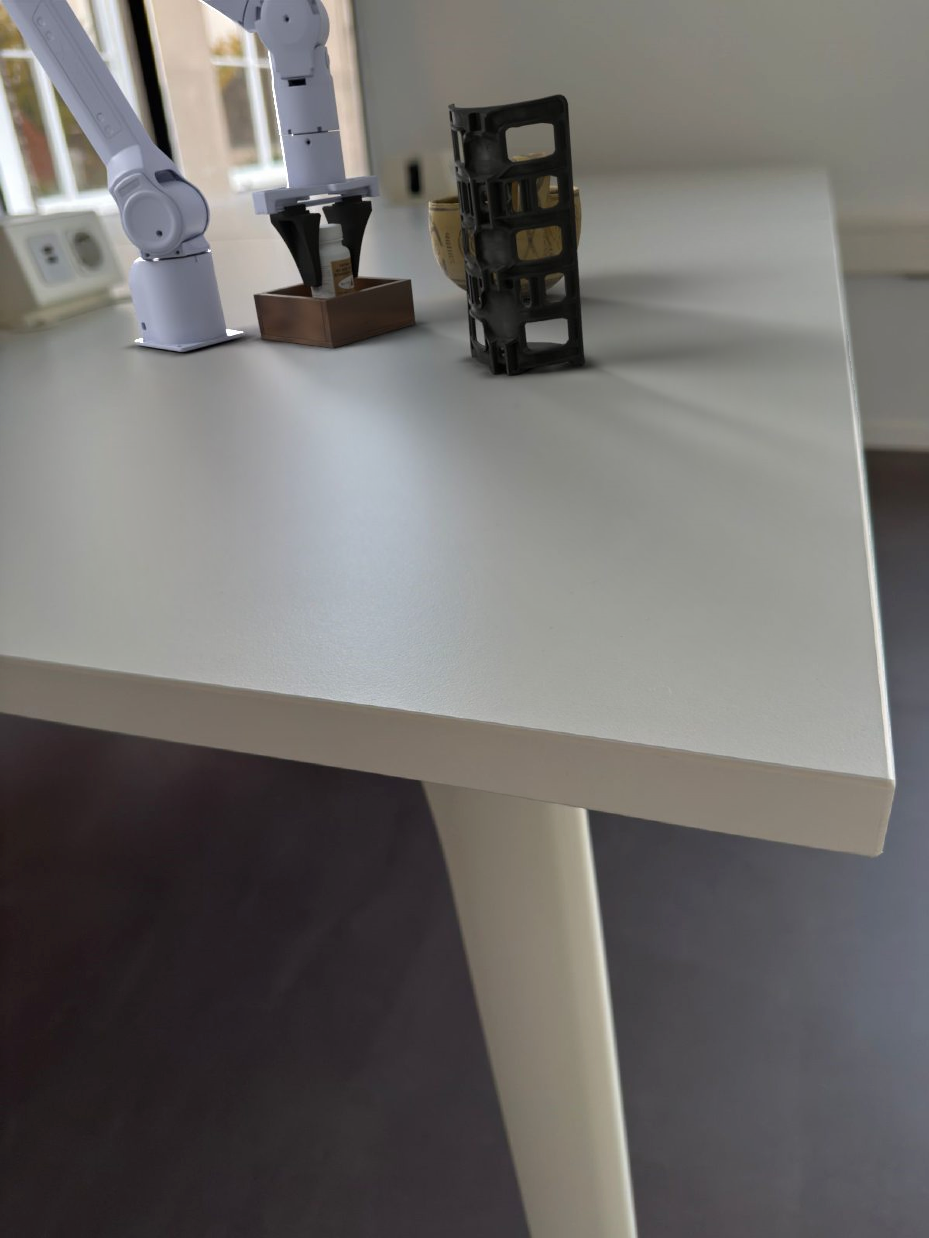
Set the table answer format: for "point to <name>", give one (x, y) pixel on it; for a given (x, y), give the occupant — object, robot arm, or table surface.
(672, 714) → the table surface
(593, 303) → the table surface
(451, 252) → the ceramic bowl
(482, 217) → the holder
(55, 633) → the table surface
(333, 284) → the pill bottle
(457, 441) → the table surface
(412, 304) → the box
